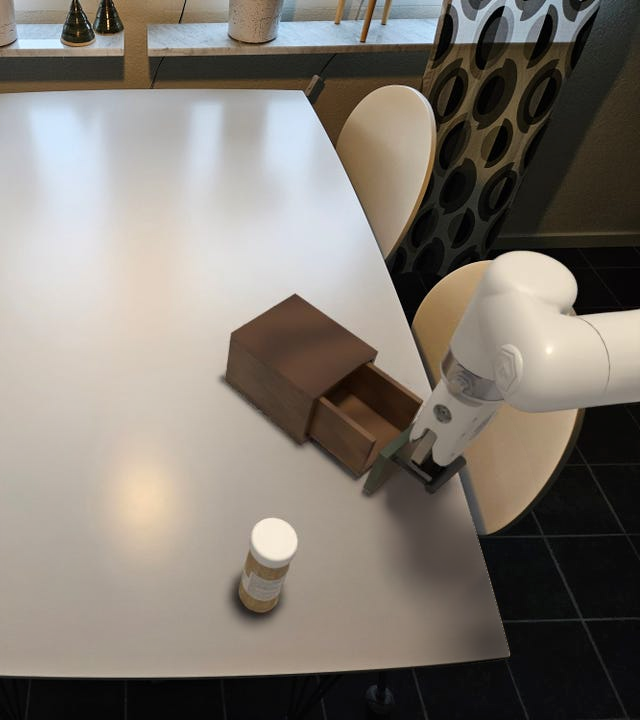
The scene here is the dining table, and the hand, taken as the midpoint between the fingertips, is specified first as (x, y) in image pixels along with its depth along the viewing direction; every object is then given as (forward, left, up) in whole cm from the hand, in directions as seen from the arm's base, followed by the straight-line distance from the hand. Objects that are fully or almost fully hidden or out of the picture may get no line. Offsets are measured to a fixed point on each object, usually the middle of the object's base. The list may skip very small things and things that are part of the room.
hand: (425, 467), depth 78 cm
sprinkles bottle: (+3, +25, -5) cm, 26 cm away
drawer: (+7, 0, -4) cm, 8 cm away
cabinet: (+21, 0, -5) cm, 21 cm away
